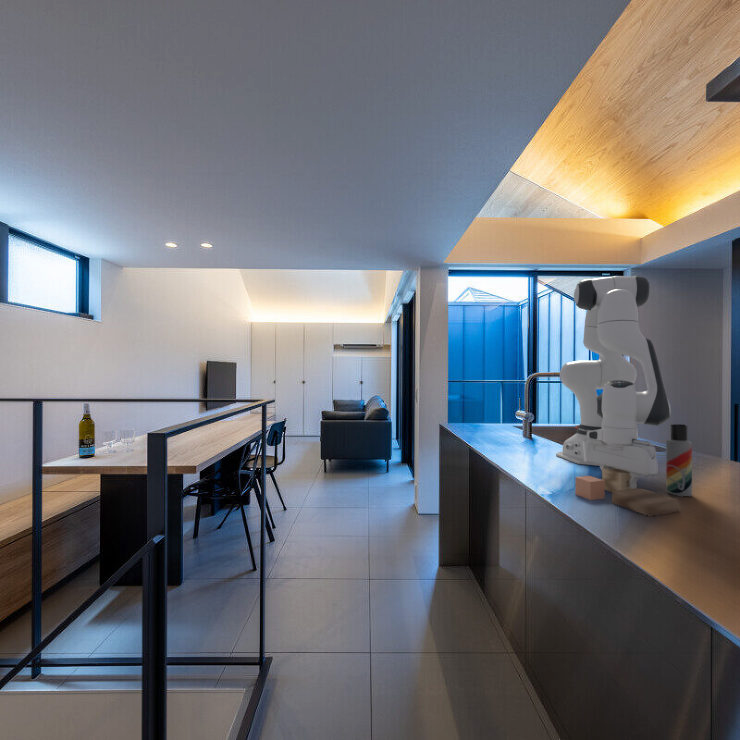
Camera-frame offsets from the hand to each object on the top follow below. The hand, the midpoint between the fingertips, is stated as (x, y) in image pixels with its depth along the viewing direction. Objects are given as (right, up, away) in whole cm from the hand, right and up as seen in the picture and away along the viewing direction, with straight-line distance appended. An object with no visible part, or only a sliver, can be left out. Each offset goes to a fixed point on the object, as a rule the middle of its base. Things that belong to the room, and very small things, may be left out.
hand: (619, 483), depth 112 cm
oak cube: (0, -2, 0) cm, 2 cm away
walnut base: (-2, -2, -13) cm, 14 cm away
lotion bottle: (+15, -2, -2) cm, 16 cm away
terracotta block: (-11, -2, -4) cm, 12 cm away
